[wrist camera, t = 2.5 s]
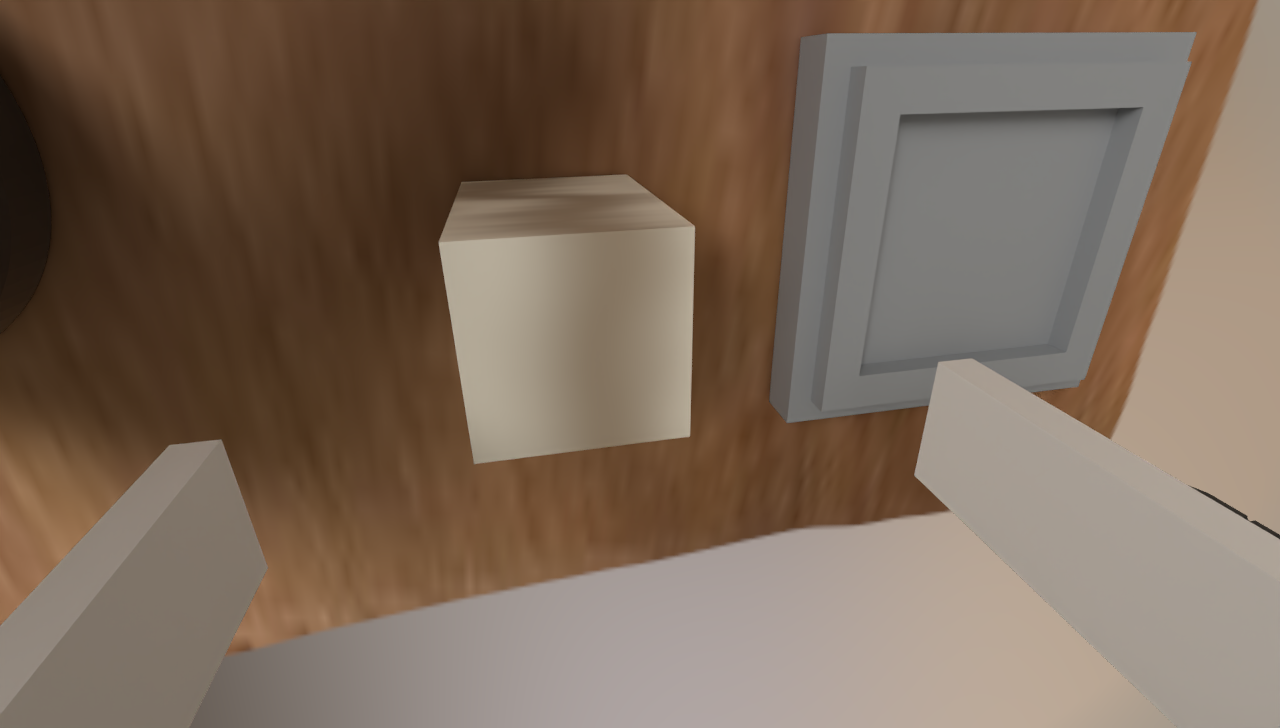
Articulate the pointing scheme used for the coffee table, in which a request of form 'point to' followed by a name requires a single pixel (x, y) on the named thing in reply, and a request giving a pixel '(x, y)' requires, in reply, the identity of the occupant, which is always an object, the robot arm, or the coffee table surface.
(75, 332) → the coffee table surface
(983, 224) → the slate plinth
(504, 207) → the birch block
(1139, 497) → the robot arm
